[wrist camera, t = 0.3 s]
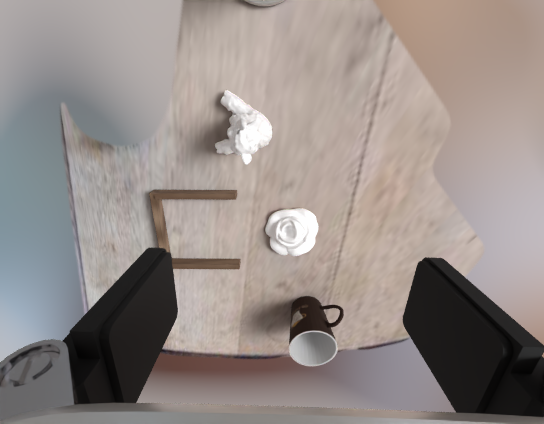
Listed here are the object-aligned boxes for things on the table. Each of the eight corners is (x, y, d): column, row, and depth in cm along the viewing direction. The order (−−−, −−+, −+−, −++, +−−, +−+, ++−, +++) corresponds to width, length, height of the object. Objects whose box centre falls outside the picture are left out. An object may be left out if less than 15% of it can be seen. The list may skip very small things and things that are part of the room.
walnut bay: (154, 189, 45) (149, 193, 44) (236, 190, 45) (235, 193, 43) (166, 262, 51) (162, 268, 49) (240, 263, 51) (239, 269, 49)
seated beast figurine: (223, 89, 39) (203, 82, 28) (278, 101, 40) (280, 99, 29) (215, 151, 43) (195, 166, 32) (266, 161, 43) (264, 180, 32)
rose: (300, 273, 47) (253, 248, 45) (298, 259, 51) (255, 236, 49) (333, 230, 44) (284, 202, 42) (328, 220, 48) (283, 193, 46)
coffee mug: (295, 328, 57) (299, 371, 48) (280, 299, 54) (281, 339, 45) (345, 312, 55) (360, 353, 46) (333, 281, 52) (345, 319, 43)
